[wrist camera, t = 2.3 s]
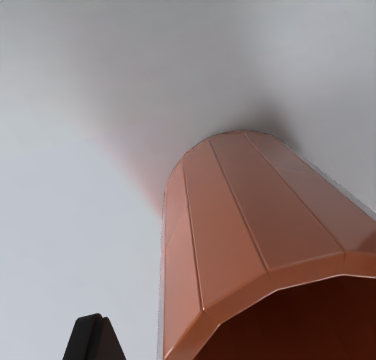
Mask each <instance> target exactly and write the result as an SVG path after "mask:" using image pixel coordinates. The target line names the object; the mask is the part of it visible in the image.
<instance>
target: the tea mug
mask: <svg viewBox="0 0 376 360" xmlns="http://www.w3.org/2000/svg"><path fill="white" fill-rule="evenodd" d="M157 360H376V213H375V212H374V211H372V210H371V209H370V208H369V207H367V206H366V205H365V204H363V203H362V202H361V201H360V200H358V199H357V198H356V197H355V196H353V195H352V194H351V193H350V192H348V191H347V190H346V189H345V188H343V187H342V186H341V185H340V184H338V183H337V182H336V181H335V180H333V179H332V178H331V177H330V176H328V175H327V174H326V173H325V172H323V171H322V170H321V169H320V168H318V167H317V166H316V165H314V164H313V163H312V162H311V161H309V160H308V159H307V158H306V157H304V156H303V155H302V154H301V153H299V152H298V151H296V150H295V149H293V148H292V147H290V146H289V145H287V144H286V143H285V142H283V141H282V140H280V139H278V138H276V137H274V136H271V135H268V134H266V133H262V132H257V131H248V130H239V131H230V132H224V133H221V134H218V135H215V136H212V137H210V138H208V139H206V140H203V141H202V142H200V143H199V144H197V145H196V146H194V147H193V148H192V149H190V150H189V151H188V152H187V153H186V154H185V155H184V156H183V157H182V158H181V159H180V160H179V162H178V163H177V165H176V166H175V167H174V169H173V171H172V173H171V175H170V176H169V179H168V182H167V184H166V188H165V193H164V204H163V211H162V231H161V257H160V284H159V311H158V338H157Z"/></svg>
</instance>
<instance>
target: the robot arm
mask: <svg viewBox="0 0 376 360" xmlns="http://www.w3.org/2000/svg"><path fill="white" fill-rule="evenodd" d="M63 360H126V358H125V356H124V353H123V351H122V348H121V346H120V344H119V341H118V339H117V337H116V334H115V332H114V330H113V327H112V325H111V322H110V320H109V318H108V317H104V318H103V317H102V316H101V314H99V313H97V314H92V315H88V316H84V317H80V318H78V319H77V320H76V322H75V325H74V328H73V331H72V334H71V336H70V339H69V342H68V345H67V348H66V351H65V354H64V357H63Z"/></svg>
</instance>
